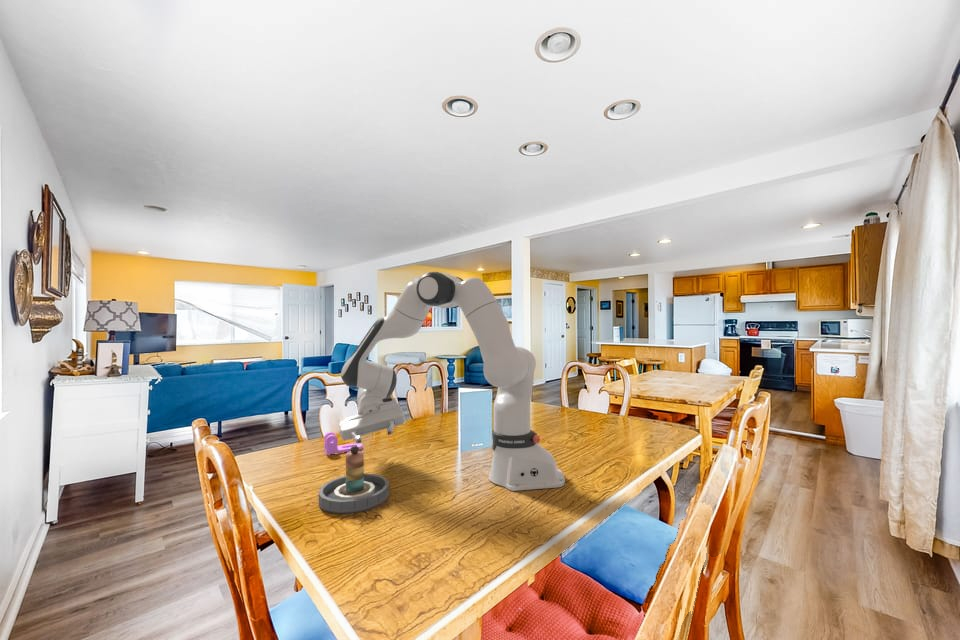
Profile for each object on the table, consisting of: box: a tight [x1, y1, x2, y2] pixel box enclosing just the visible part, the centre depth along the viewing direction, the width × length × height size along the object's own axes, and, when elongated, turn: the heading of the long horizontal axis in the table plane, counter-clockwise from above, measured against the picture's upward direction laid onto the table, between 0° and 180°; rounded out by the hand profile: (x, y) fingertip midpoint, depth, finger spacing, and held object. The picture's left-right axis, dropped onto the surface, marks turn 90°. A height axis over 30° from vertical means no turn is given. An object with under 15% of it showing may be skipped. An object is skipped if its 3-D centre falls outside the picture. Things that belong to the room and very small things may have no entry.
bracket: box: [323, 431, 363, 456], centre depth 146 cm, size 13×6×7 cm, turn 119°
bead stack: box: [343, 446, 366, 495], centre depth 106 cm, size 6×6×13 cm
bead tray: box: [318, 473, 390, 515], centre depth 106 cm, size 18×18×3 cm
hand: (374, 437), depth 120 cm, fingers open, 8 cm apart
